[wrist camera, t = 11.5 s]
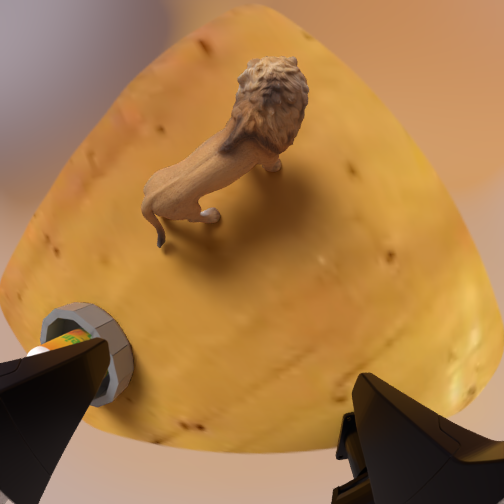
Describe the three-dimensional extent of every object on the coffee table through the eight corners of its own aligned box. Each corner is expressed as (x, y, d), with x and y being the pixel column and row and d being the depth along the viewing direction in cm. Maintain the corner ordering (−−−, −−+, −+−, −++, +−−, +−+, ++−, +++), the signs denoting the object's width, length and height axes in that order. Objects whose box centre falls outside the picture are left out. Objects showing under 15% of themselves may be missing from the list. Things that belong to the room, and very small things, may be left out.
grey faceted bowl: (142, 398, 22) (127, 415, 19) (72, 381, 23) (55, 392, 19) (125, 305, 21) (104, 314, 18) (54, 299, 22) (33, 305, 19)
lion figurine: (266, 98, 20) (261, 26, 11) (315, 138, 20) (340, 77, 11) (142, 225, 21) (70, 219, 12) (185, 271, 21) (128, 293, 12)
